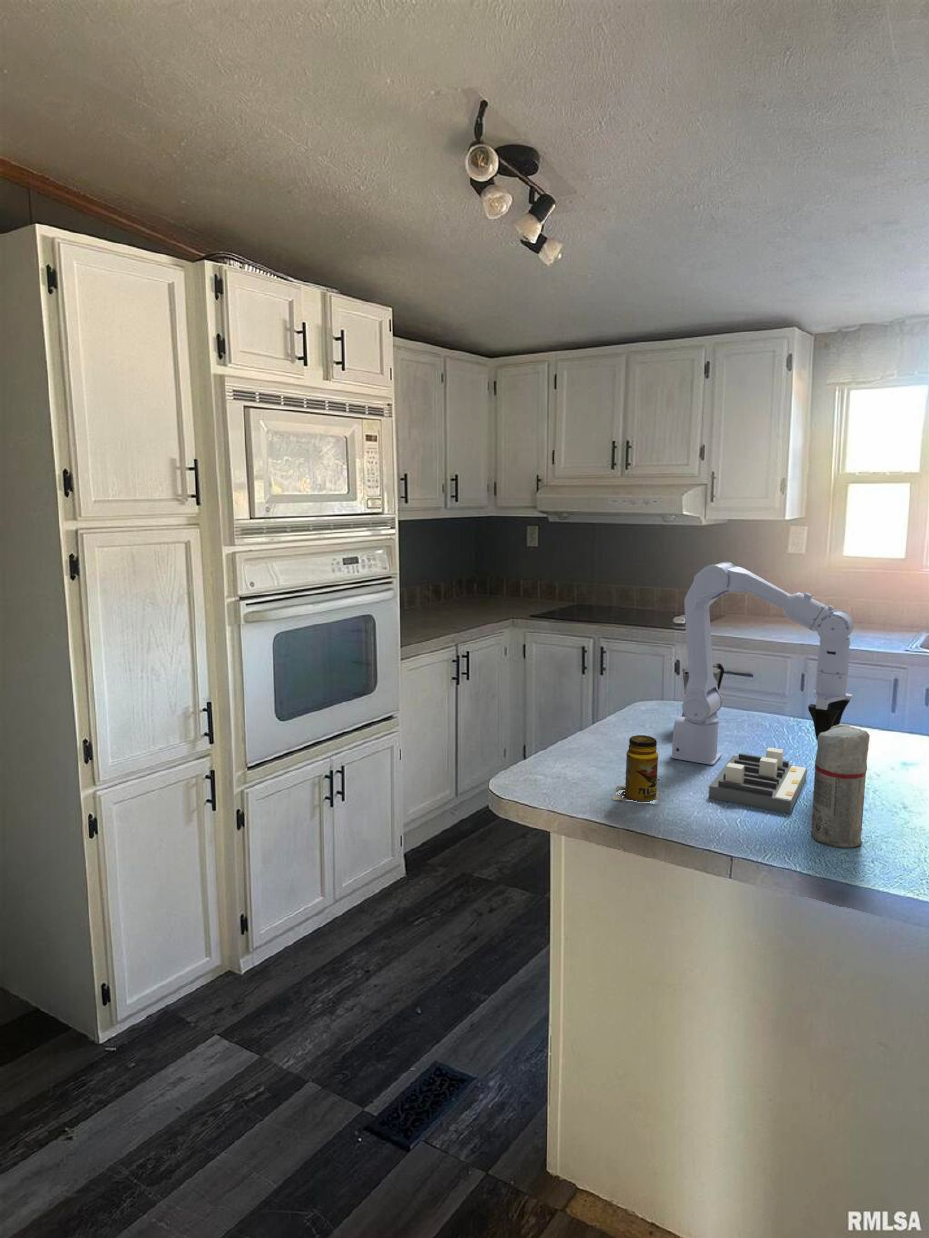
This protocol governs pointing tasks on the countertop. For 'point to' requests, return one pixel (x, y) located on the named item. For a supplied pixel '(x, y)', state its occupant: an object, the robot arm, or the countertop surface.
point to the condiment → (640, 771)
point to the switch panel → (760, 785)
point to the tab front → (735, 773)
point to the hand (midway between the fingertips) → (826, 735)
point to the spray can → (840, 786)
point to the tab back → (775, 755)
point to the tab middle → (768, 767)
